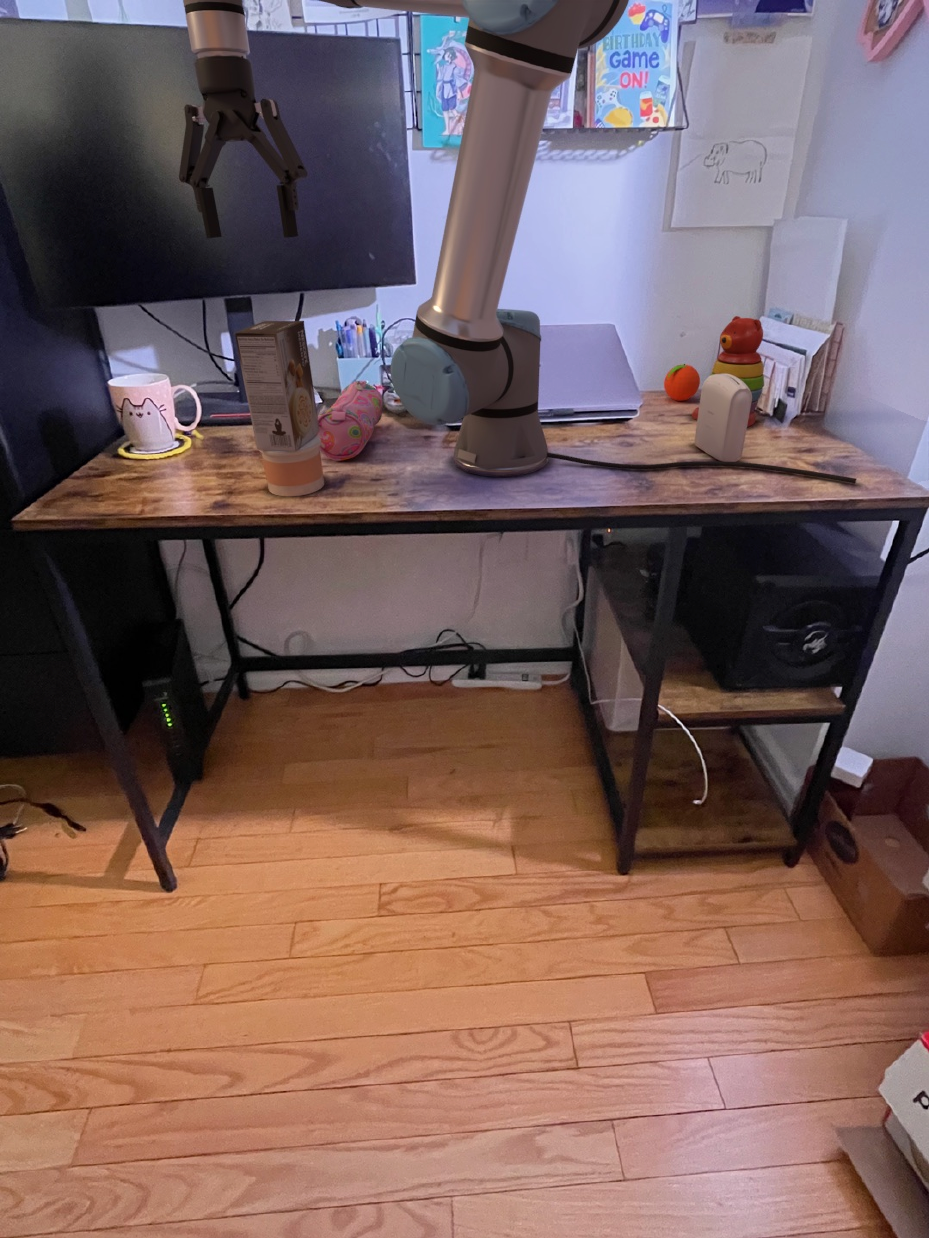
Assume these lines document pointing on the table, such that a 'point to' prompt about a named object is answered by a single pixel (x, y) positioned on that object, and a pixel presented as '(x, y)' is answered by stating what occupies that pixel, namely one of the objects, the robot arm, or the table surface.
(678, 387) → the clementine
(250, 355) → the coffee box
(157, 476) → the table surface
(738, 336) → the stacking bear
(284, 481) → the yogurt pot
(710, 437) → the photo printer
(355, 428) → the pencil case
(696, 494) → the table surface
